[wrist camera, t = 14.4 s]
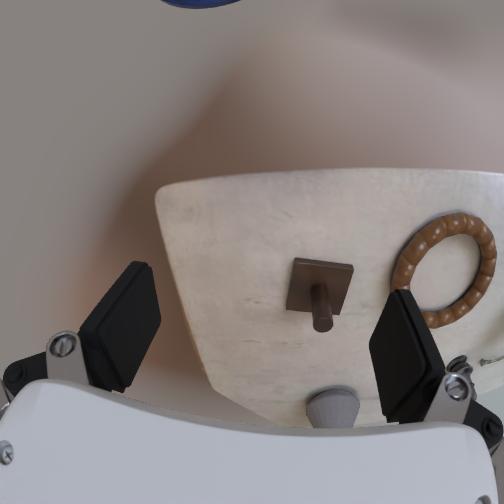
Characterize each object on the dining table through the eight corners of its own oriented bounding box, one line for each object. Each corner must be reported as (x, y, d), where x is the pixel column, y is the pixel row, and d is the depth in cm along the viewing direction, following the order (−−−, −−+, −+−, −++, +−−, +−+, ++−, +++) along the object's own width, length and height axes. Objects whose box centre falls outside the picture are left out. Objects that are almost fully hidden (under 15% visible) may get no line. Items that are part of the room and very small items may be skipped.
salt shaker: (445, 375, 45) (460, 417, 35) (445, 362, 43) (462, 406, 33) (467, 364, 43) (483, 404, 33) (468, 350, 41) (487, 393, 31)
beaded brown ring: (412, 197, 30) (421, 204, 28) (504, 224, 29) (514, 231, 26) (372, 317, 40) (375, 329, 37) (460, 322, 38) (466, 332, 36)
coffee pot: (303, 411, 54) (301, 469, 41) (307, 384, 49) (307, 452, 36) (391, 405, 51) (400, 458, 38) (406, 377, 46) (422, 437, 33)
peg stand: (294, 257, 36) (295, 294, 29) (352, 264, 36) (365, 302, 29) (286, 304, 40) (284, 345, 33) (338, 310, 40) (345, 350, 32)
